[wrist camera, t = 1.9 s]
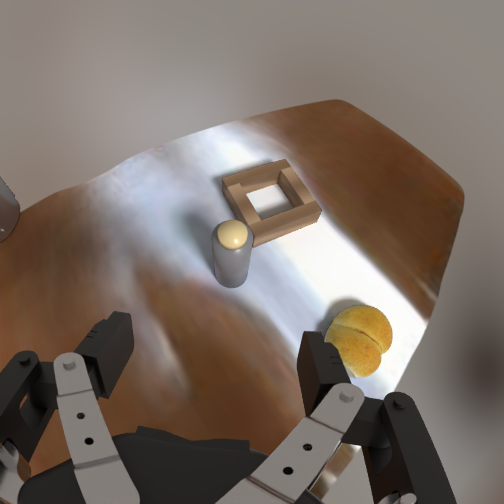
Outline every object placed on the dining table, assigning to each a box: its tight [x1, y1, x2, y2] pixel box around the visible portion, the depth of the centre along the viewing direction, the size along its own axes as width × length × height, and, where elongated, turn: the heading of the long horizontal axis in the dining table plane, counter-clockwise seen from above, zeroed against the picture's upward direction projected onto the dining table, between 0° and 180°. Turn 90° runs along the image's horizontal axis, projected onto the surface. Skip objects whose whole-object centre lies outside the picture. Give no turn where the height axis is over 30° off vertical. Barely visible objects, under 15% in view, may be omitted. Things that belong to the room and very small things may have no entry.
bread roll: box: [324, 305, 392, 378], centre depth 32 cm, size 8×9×4 cm
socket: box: [222, 159, 322, 248], centre depth 40 cm, size 10×10×3 cm
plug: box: [212, 220, 253, 288], centre depth 32 cm, size 4×4×10 cm
